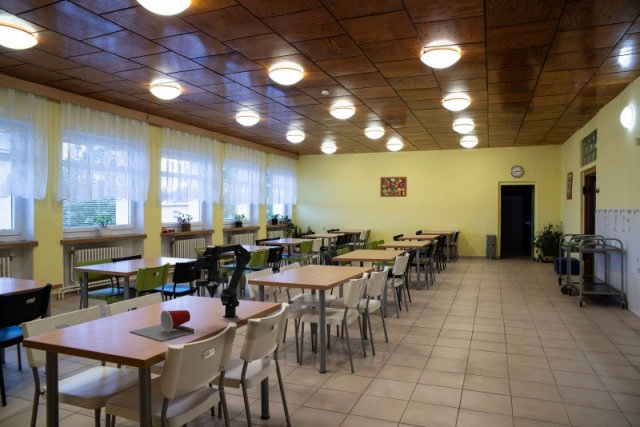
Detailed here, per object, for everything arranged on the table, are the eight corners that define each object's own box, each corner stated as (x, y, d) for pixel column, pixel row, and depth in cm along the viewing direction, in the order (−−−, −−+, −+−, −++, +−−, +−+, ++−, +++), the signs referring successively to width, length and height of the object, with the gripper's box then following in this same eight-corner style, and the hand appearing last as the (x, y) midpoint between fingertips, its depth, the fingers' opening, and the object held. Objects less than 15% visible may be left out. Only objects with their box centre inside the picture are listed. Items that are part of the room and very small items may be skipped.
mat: (159, 325, 230) (159, 324, 230) (192, 333, 214) (192, 332, 214) (129, 332, 216) (129, 331, 216) (161, 341, 201) (161, 340, 201)
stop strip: (164, 325, 231) (164, 321, 231) (194, 332, 217) (194, 328, 217) (161, 325, 229) (161, 322, 229) (190, 333, 215) (190, 329, 215)
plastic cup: (183, 327, 227) (161, 332, 218) (180, 305, 228) (158, 310, 219) (194, 326, 219) (172, 332, 210) (191, 305, 220) (169, 310, 211)
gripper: (208, 271, 228) (208, 301, 228) (235, 268, 243) (235, 296, 243) (194, 269, 234) (194, 299, 234) (221, 266, 250) (221, 294, 249)
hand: (212, 297), depth 240 cm, fingers closed
